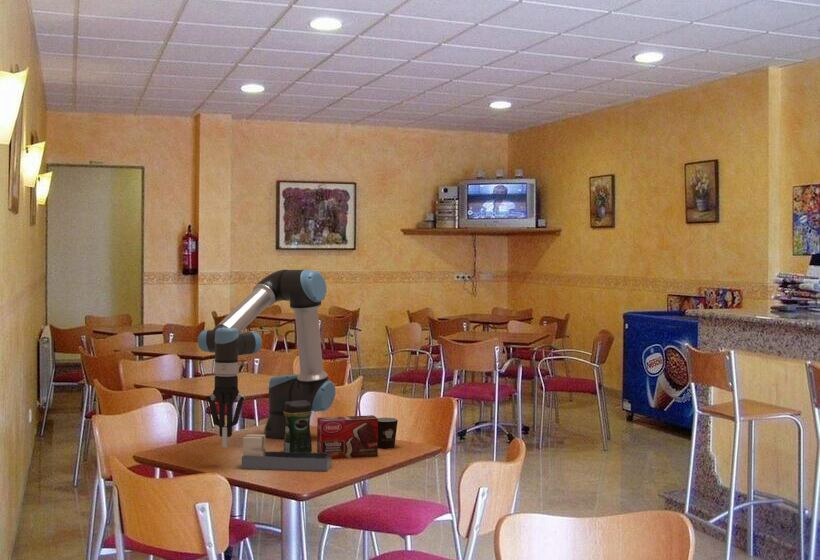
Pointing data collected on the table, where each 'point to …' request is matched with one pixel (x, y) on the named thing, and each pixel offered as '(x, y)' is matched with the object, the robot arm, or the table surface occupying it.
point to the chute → (289, 461)
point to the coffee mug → (387, 432)
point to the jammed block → (254, 445)
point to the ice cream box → (348, 436)
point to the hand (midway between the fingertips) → (225, 446)
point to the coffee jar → (297, 426)
